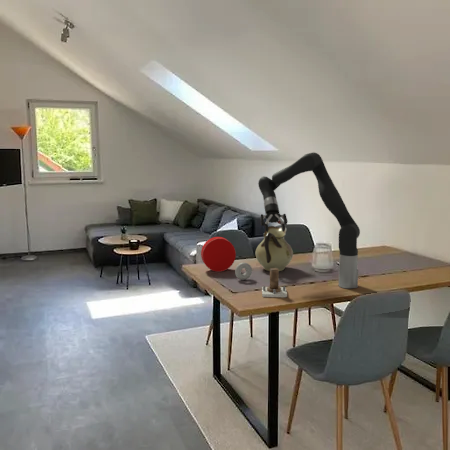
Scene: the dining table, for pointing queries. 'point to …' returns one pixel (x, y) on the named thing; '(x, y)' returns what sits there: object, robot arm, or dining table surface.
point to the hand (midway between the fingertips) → (275, 230)
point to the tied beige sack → (274, 249)
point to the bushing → (274, 280)
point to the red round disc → (218, 254)
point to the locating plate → (274, 292)
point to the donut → (247, 273)
